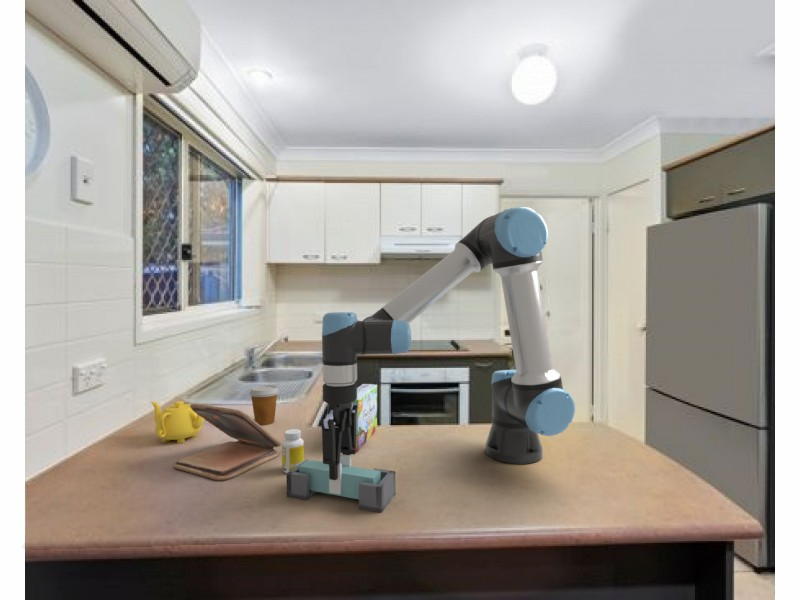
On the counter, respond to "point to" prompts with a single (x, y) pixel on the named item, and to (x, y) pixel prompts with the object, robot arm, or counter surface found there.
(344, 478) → the teal rectangular bar
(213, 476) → the case
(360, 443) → the snack box
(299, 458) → the supplement bottle
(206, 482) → the counter surface
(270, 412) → the disposable coffee cup
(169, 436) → the teapot
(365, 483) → the end cap near
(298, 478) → the end cap far
